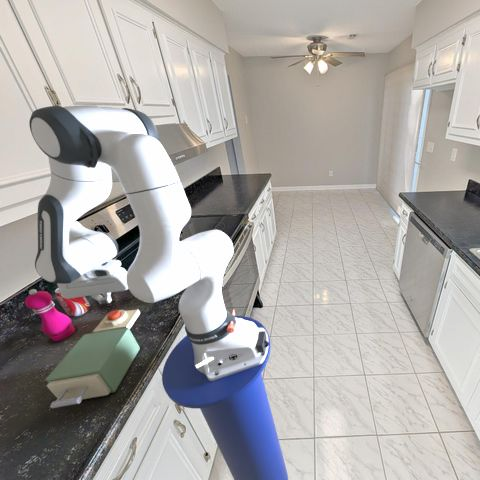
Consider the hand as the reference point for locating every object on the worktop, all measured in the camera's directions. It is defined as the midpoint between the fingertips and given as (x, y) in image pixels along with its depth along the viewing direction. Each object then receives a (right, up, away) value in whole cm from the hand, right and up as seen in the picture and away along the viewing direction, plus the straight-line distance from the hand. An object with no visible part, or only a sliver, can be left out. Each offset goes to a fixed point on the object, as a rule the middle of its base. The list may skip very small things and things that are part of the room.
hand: (106, 302), depth 88 cm
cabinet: (+11, -18, -13) cm, 24 cm away
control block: (0, -9, +5) cm, 11 cm away
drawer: (+11, -19, -17) cm, 27 cm away
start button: (0, -6, +3) cm, 7 cm away
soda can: (-21, -7, +13) cm, 26 cm away
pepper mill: (-17, -12, +2) cm, 21 cm away
